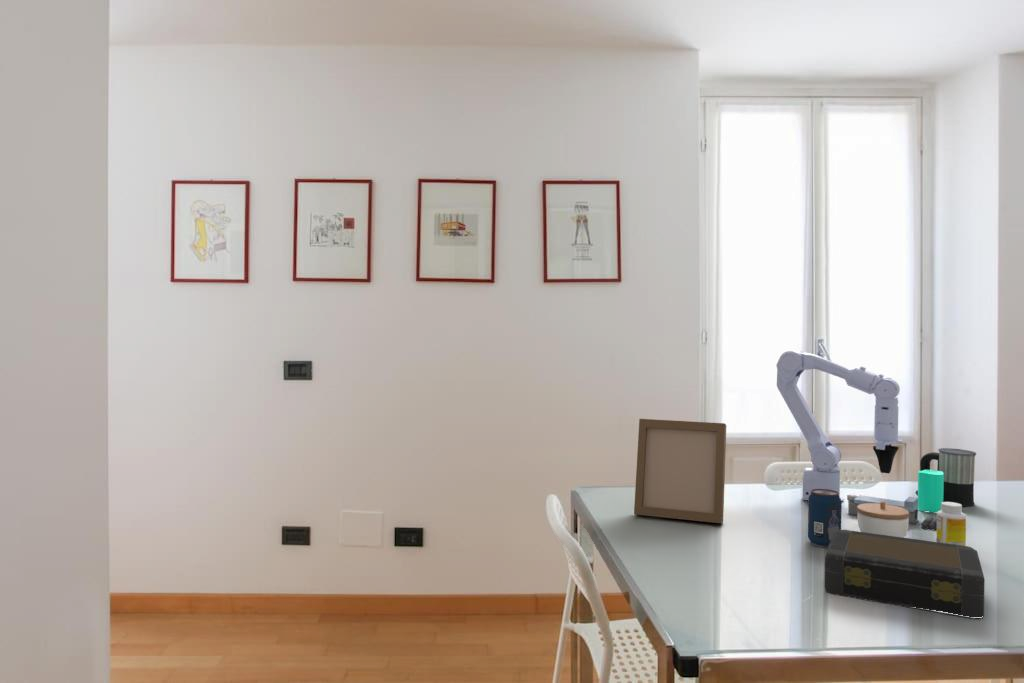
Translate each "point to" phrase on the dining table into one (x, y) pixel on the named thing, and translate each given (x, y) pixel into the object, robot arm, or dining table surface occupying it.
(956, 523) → the supplement bottle
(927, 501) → the candle
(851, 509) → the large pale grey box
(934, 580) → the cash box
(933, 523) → the grey ridged block
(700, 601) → the dining table surface
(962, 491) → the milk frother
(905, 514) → the lidded jar
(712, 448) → the photo frame
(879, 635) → the dining table surface
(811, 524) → the soda can
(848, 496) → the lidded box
